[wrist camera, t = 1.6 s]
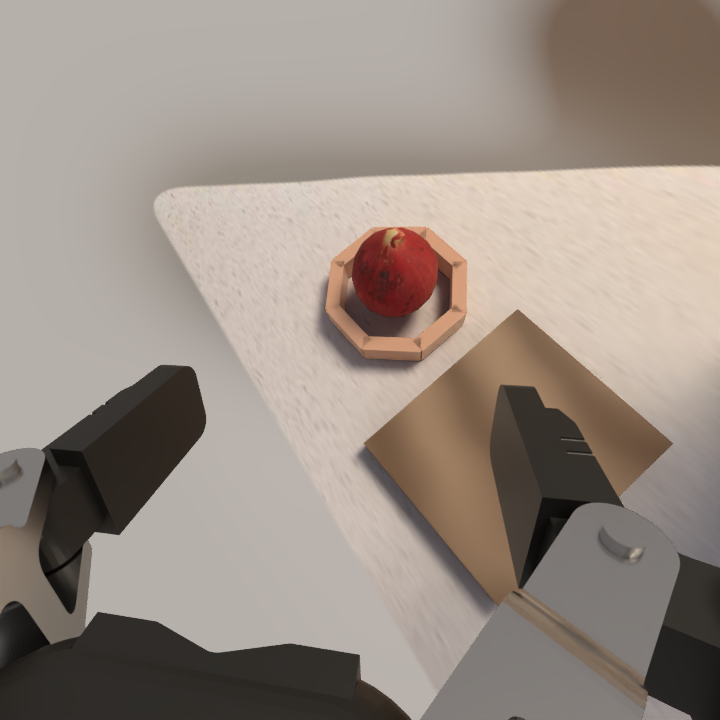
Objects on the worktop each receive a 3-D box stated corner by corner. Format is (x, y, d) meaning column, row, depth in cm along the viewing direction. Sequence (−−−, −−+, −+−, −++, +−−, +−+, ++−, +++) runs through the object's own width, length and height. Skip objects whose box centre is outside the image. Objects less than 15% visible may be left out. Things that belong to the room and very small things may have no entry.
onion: (416, 344, 28) (417, 293, 21) (347, 317, 30) (324, 260, 22) (446, 279, 30) (457, 208, 22) (378, 256, 31) (367, 183, 23)
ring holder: (402, 220, 32) (401, 204, 30) (492, 299, 29) (497, 287, 27) (308, 296, 31) (301, 284, 29) (390, 387, 28) (389, 380, 26)
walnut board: (512, 318, 28) (517, 309, 26) (657, 445, 24) (673, 443, 23) (366, 445, 26) (363, 443, 25) (496, 602, 23) (501, 610, 21)
